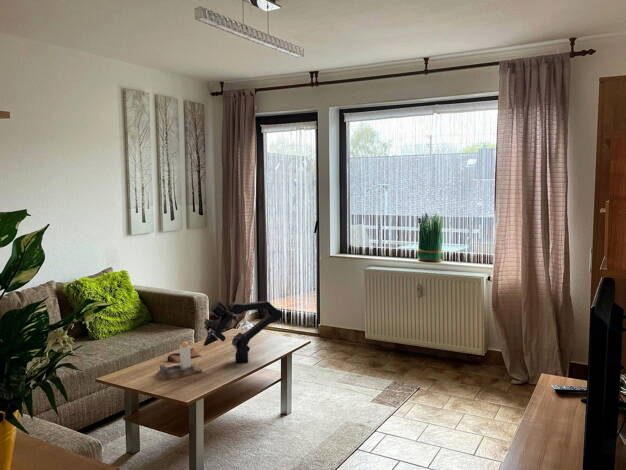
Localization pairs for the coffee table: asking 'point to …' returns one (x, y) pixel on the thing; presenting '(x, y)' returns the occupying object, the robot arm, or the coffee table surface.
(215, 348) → the coffee table surface
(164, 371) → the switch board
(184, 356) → the white tall boxy piece
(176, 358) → the sunglasses case
